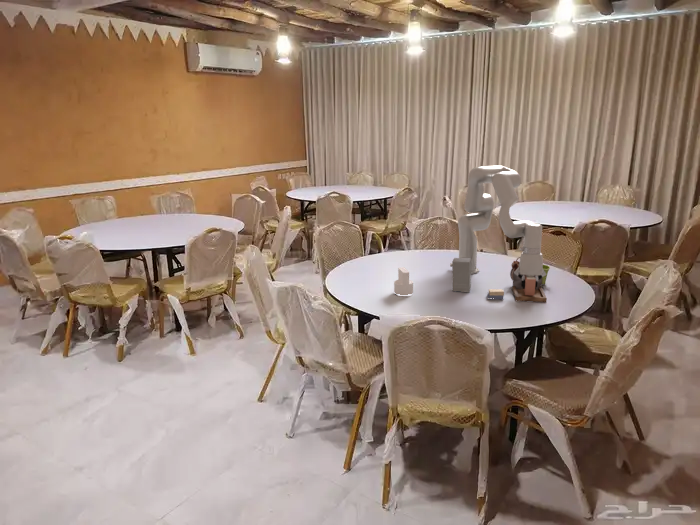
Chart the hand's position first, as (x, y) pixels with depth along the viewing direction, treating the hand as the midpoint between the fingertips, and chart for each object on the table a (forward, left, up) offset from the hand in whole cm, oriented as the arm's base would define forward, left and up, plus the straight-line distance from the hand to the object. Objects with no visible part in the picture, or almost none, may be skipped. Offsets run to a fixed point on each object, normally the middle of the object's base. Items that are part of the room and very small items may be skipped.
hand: (529, 287), depth 236 cm
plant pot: (+7, +20, -4) cm, 22 cm away
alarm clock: (-2, +14, -4) cm, 15 cm away
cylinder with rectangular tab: (-58, -6, -4) cm, 58 cm away
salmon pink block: (0, 0, -2) cm, 2 cm away
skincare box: (-31, +3, -4) cm, 31 cm away
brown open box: (0, 0, -4) cm, 4 cm away
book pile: (-15, -6, -4) cm, 17 cm away
